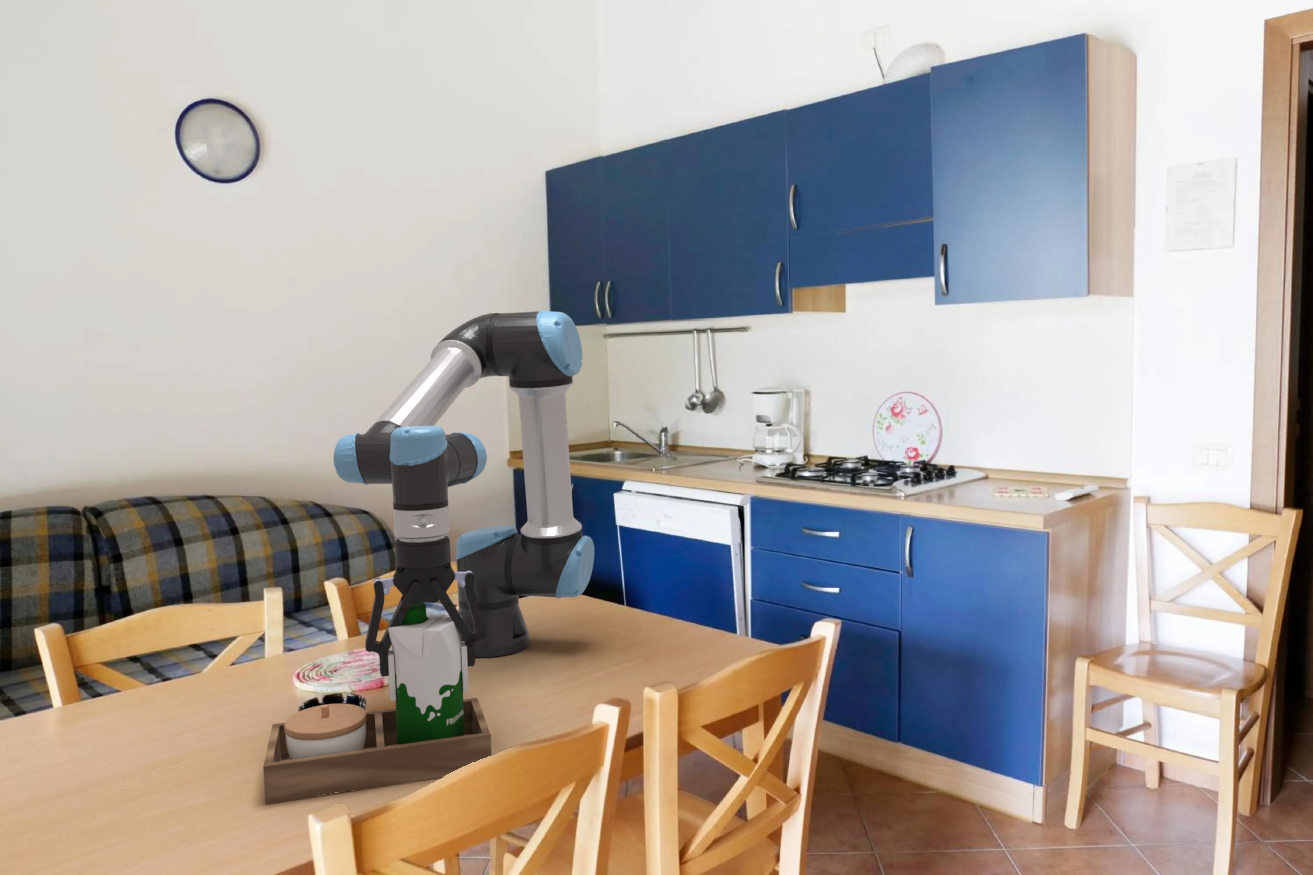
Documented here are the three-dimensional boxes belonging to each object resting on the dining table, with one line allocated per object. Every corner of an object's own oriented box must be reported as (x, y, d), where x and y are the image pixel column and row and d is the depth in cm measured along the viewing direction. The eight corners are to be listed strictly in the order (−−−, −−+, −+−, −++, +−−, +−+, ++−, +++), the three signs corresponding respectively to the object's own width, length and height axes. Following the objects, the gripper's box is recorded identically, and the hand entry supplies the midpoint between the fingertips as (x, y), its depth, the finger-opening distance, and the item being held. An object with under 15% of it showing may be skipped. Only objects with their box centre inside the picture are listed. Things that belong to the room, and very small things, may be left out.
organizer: (274, 757, 137) (272, 723, 137) (478, 729, 146) (477, 697, 145) (265, 804, 123) (263, 766, 122) (492, 769, 131) (490, 734, 131)
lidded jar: (299, 757, 137) (296, 693, 136) (376, 753, 138) (372, 690, 137) (276, 791, 126) (272, 722, 126) (359, 786, 127) (355, 718, 126)
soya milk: (415, 730, 141) (409, 597, 140) (473, 733, 140) (468, 599, 138) (387, 754, 133) (380, 614, 131) (448, 759, 131) (442, 616, 129)
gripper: (339, 548, 127) (347, 712, 129) (505, 535, 133) (510, 691, 135) (339, 538, 134) (348, 693, 136) (497, 526, 140) (502, 674, 142)
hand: (429, 692), depth 136 cm, fingers closed on soya milk, 9 cm apart
